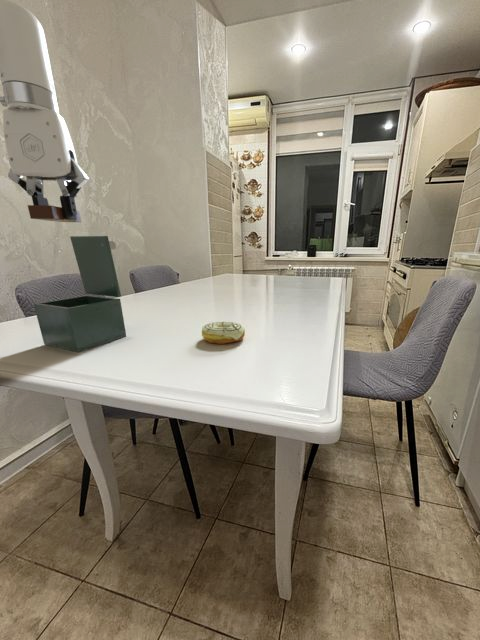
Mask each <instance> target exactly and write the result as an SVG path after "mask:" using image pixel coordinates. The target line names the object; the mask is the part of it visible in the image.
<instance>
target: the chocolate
mask: <svg viewBox="0 0 480 640" xmlns="http://www.w3.org/2000/svg"><path fill="white" fill-rule="evenodd" d="M27 209H28V214H29V217H30V219H32V220H41V221H48V222H57V223H58V222H59V223H82V217H81V212H80V210H77V216H76V217H77V220H76V221H74V220H66V219H65V218H64V216H63V211H62V206H56V205H51V204H49V205H33V204H28V205H27Z"/></svg>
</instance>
